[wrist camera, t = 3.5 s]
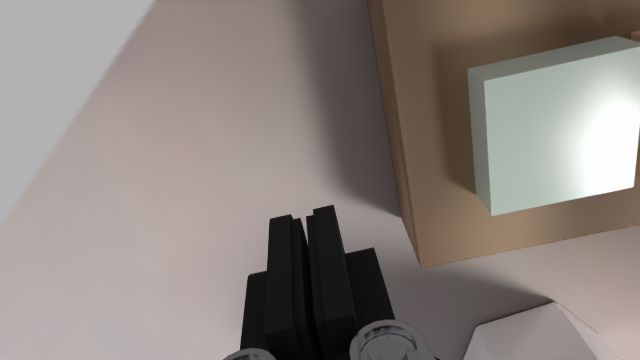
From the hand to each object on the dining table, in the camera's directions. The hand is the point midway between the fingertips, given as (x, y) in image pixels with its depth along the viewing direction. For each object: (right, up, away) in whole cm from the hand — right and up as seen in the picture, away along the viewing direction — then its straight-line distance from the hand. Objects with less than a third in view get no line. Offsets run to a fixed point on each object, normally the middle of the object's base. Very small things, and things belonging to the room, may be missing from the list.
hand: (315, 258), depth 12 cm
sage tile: (+8, +4, +5) cm, 10 cm away
